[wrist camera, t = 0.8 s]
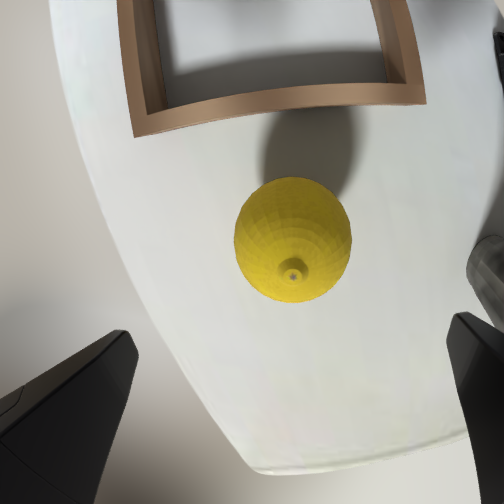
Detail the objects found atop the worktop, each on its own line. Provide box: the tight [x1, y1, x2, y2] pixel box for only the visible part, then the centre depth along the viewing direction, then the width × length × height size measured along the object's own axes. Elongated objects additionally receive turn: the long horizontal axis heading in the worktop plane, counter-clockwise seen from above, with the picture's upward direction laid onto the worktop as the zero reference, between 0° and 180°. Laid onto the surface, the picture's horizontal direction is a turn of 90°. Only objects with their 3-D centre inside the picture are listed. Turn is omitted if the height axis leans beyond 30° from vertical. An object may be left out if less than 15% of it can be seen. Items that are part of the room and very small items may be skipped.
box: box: [117, 0, 427, 138], centre depth 11 cm, size 15×13×3 cm
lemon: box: [234, 177, 352, 303], centre depth 14 cm, size 6×6×8 cm
